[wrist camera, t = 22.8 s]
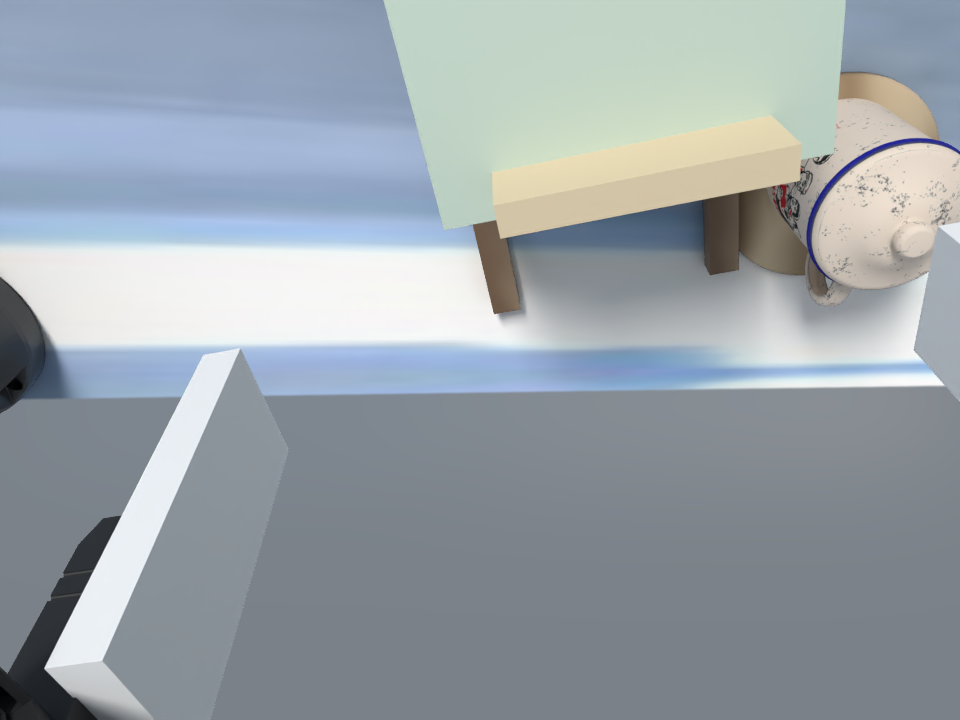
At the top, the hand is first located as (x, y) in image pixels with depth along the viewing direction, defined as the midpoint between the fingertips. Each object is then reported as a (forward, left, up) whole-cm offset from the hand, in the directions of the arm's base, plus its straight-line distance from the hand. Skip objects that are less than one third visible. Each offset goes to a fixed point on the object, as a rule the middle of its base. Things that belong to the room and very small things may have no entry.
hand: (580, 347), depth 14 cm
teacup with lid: (+18, -15, -35) cm, 42 cm away
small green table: (+4, +1, -34) cm, 34 cm away
